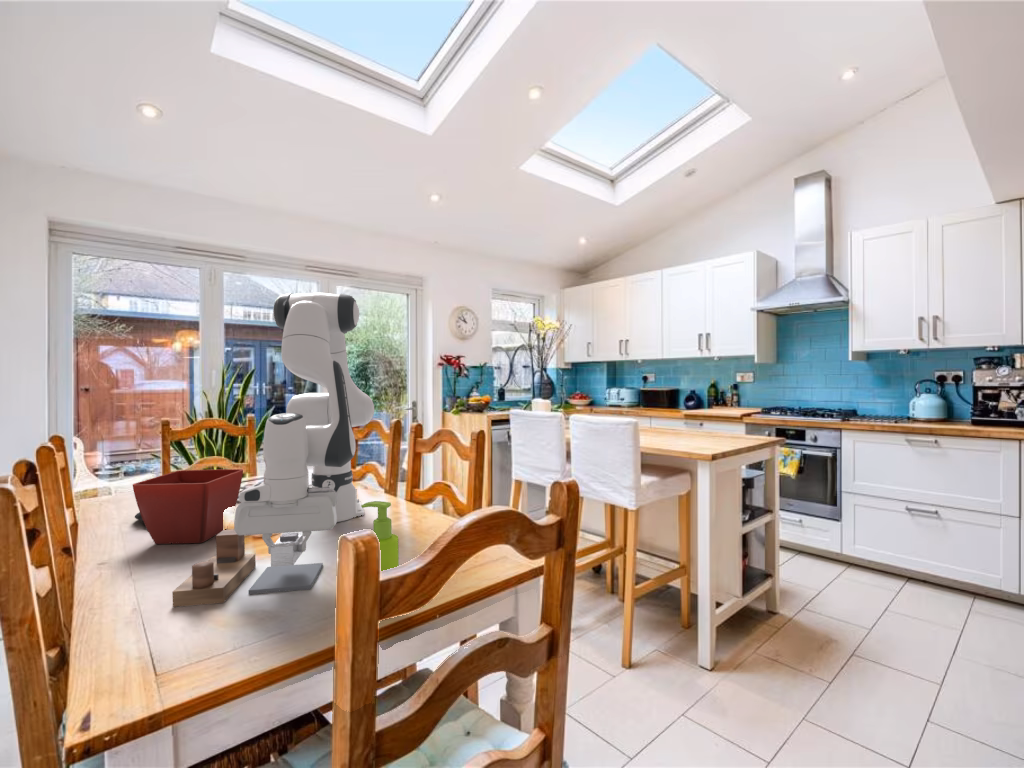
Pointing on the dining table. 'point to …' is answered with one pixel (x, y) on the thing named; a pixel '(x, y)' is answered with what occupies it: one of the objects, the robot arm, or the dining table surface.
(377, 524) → the soap dispenser
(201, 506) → the plant pot
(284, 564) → the lever cap
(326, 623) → the dining table surface
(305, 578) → the slate mat
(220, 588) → the body
